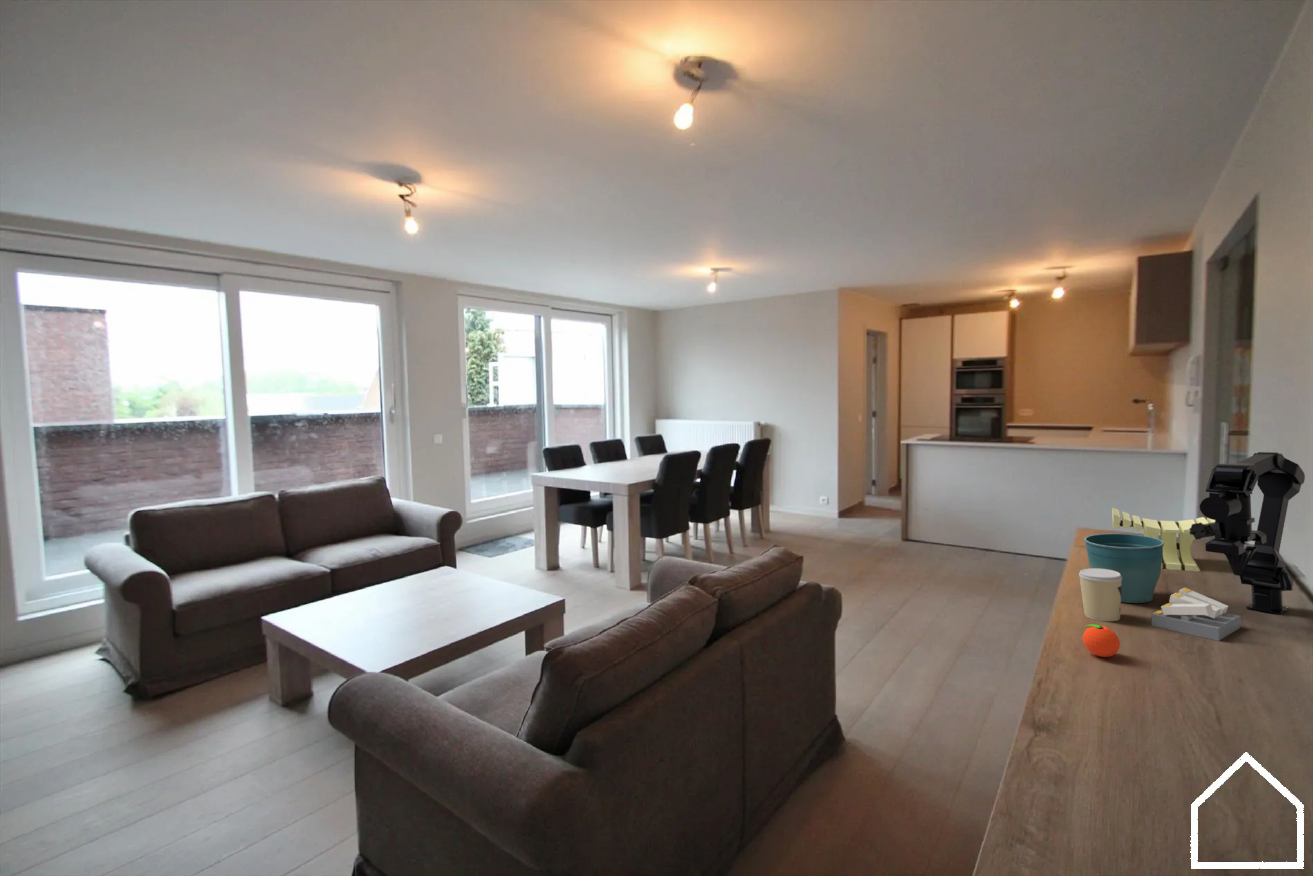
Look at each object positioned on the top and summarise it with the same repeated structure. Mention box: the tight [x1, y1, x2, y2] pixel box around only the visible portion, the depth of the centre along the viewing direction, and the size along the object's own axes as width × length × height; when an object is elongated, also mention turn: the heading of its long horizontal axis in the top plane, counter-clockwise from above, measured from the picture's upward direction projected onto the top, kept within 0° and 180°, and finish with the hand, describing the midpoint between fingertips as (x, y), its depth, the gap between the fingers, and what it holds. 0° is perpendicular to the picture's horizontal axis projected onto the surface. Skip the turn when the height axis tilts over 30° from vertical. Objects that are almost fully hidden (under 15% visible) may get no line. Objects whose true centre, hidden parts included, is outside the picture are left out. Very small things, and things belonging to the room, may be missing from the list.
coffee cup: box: [1078, 567, 1122, 622], centre depth 159 cm, size 9×9×12 cm
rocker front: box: [1160, 602, 1213, 615], centre depth 146 cm, size 3×9×2 cm, turn 29°
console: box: [1150, 608, 1241, 642], centre depth 148 cm, size 13×13×4 cm
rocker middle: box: [1168, 592, 1221, 618], centre depth 148 cm, size 3×9×2 cm, turn 29°
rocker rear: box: [1178, 587, 1229, 616], centre depth 150 cm, size 3×9×2 cm, turn 29°
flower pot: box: [1083, 533, 1164, 604], centre depth 171 cm, size 18×18×17 cm
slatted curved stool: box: [1111, 507, 1215, 572], centre depth 199 cm, size 30×16×18 cm, turn 54°
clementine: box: [1080, 623, 1121, 658], centre depth 137 cm, size 8×7×7 cm
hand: (1237, 575), depth 149 cm, fingers closed
